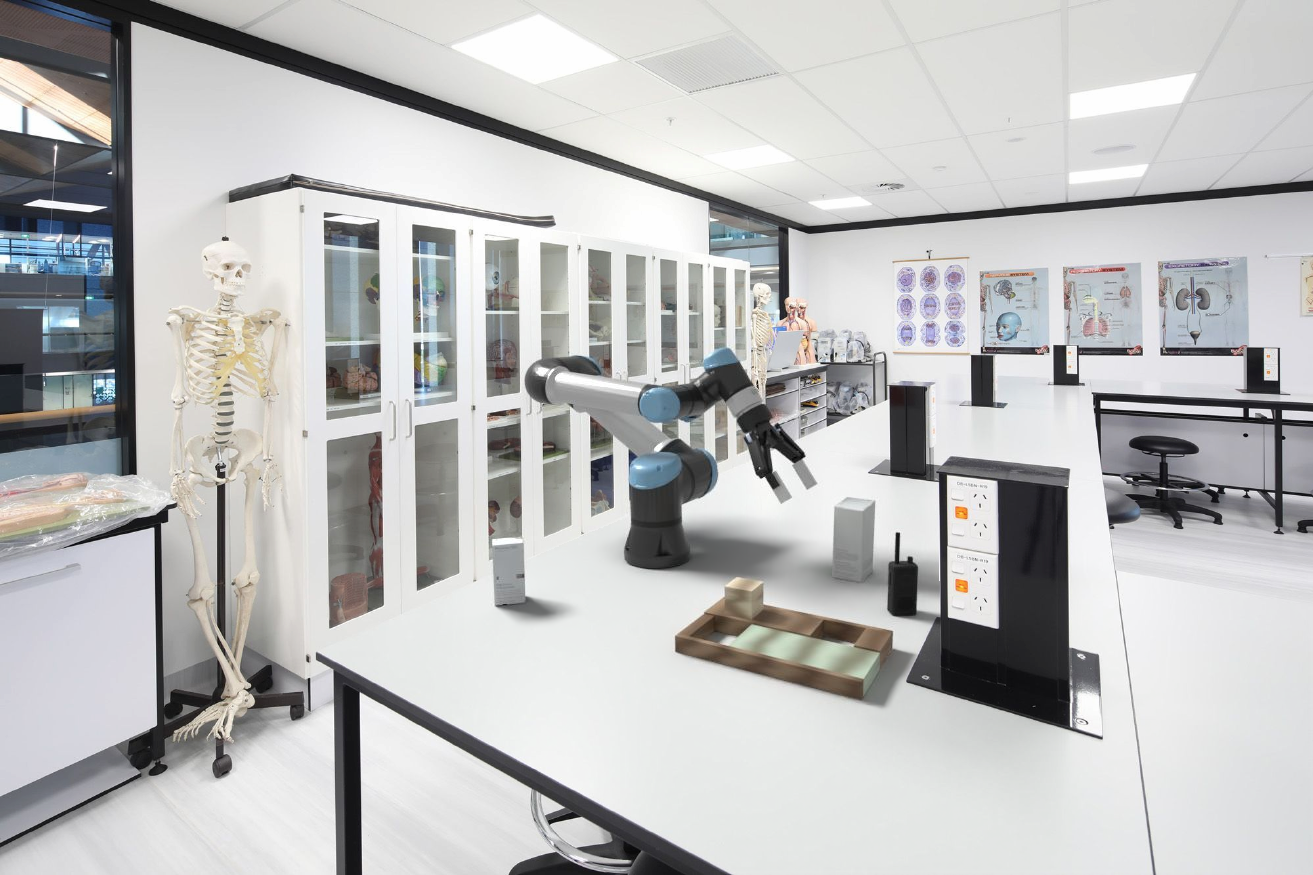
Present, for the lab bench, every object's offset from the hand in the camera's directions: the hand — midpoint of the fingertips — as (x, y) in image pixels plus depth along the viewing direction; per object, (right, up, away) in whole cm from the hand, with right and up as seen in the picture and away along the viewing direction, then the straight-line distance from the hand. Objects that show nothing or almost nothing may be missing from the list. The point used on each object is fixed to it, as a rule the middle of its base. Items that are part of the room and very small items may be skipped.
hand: (800, 493), depth 150 cm
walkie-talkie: (+13, -20, -25) cm, 35 cm away
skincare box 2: (+10, -17, -6) cm, 20 cm away
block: (-16, -18, -31) cm, 39 cm away
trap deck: (-11, -22, -39) cm, 46 cm away
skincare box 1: (-60, -20, -15) cm, 65 cm away
